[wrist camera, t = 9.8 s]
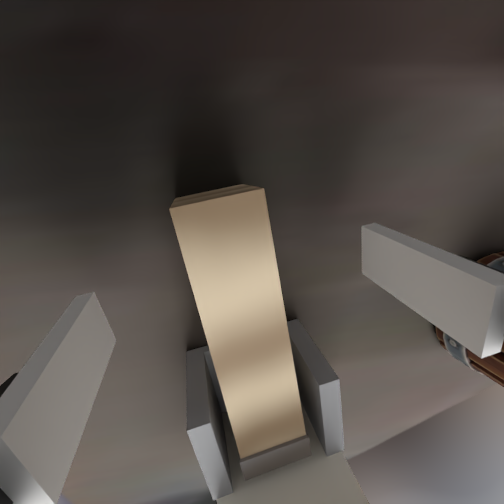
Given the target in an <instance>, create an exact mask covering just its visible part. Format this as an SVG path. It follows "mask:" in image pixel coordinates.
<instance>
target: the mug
mask: <svg viewBox="0 0 504 504" xmlns="http://www.w3.org/2000/svg"><path fill="white" fill-rule="evenodd" d="M477 262H478V263H482V264H485V265H487V266H489V268H491V267H492V268H495V269H497V270H500V271H503V272H504V251H503V252H500V253H494V254H491V255H489V256H486V257H483V258H481V259H479V260H477ZM436 334H437V338H438V339H439V341H440V344H441V345H442V346H443V348H444V349H446V350H447V351H448V352H449V353H450V354H451V355H452V356H453V357H454V358H456V359H457V360H459V361H460V362H462V363H463V364H465V365H466V366H468V367H469V368H471V369H472V370H474V371H476V372H478V373H480V374H484V375H486V376H487V377H489V378H490V379H492V380H493V381H495V382H497V383H498V384H500V385H501V386H503V387H504V340H503V344H502V349H501V352H499V353H496V354H493V355H490V356H487V357H484V358H482V359H481V358H480V357H478V356H477V355H476V354H474V353H473V352H471V351H470V350H469V349H467V348H466V347H464V346H463V345H462V344H460V343H459V342H457V341H456V340H454V339H453V338H452V337H450V336H449V335H447V334H446V333H445V332H443V331H442V330H440V329H439V328H438V327H436Z"/></svg>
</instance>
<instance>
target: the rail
mask: <svg viewBox="0 0 504 504" xmlns="http://www.w3.org/2000/svg"><path fill="white" fill-rule="evenodd" d="M169 210H170V213H171V217H172V220H173V224H174V227H175V231H176V234H177V238H178V241H179V245H180V248H181V252H182V255H183V259H184V262H185V266H186V269H187V273H188V276H189V280H190V283H191V287H192V290H193V294H194V297H195V301H196V304H197V308H198V311H199V315H200V318H201V322H202V325H203V329H204V332H205V336H206V339H207V343H208V346H209V350H210V353H211V357H212V360H213V363H214V367H215V370H216V374H217V377H218V381H219V384H220V388H221V391H222V395H223V398H224V402H225V405H226V409H227V412H228V416H229V419H230V423H231V426H232V430H233V433H234V437H235V440H236V445H237V450H238V456H239V462H240V466H241V469H242V473H243V476H244V480H245V481H246V480H249V479H251V478H254V477H256V476H259V475H262V474H264V473H267V472H269V471H272V470H275V469H277V468H280V467H283V466H285V465H288V464H290V463H293V462H296V461H298V460H301V459H303V458H306V457H309V456H311V455H312V452H311V446H310V440H309V436H308V434H307V432H306V429H305V425H304V420H303V414H302V408H301V402H300V396H299V390H298V385H297V379H296V373H295V367H294V361H293V355H292V349H291V344H290V338H289V332H288V326H287V320H286V314H285V308H284V303H283V297H282V291H281V285H280V279H279V273H278V268H277V262H276V256H275V250H274V244H273V238H272V232H271V227H270V221H269V215H268V209H267V203H266V197H265V191H264V188H260V187H255V186H250V185H245V184H240V185H235V186H230V187H226V188H221V189H216V190H211V191H207V192H202V193H197V194H193V195H188V196H183V197H178V198H175V200H174V201H173V203H172V205H171V207H170V208H169Z"/></svg>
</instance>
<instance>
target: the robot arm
mask: <svg viewBox="0 0 504 504" xmlns="http://www.w3.org/2000/svg"><path fill="white" fill-rule="evenodd" d="M362 274H363V275H365V276H366V277H368V278H369V279H370V280H372V281H373V282H375V283H376V284H377V285H379V286H380V287H382V288H383V289H384V290H386V291H387V292H389V293H390V294H391V295H393V296H394V297H396V298H397V299H398V300H400V301H401V302H403V303H404V304H405V305H407V306H408V307H410V308H411V309H412V310H414V311H415V312H417V313H418V314H419V315H421V316H422V317H424V318H425V319H426V320H428V321H429V322H431V323H432V324H433V325H435V326H436V327H438V328H439V329H440V330H442V331H443V332H445V333H446V334H447V335H449V336H450V337H452V338H453V339H454V340H456V341H457V342H459V343H460V344H462V345H463V346H464V347H466V348H467V349H469V350H470V351H471V352H473V353H474V354H476V355H477V356H478V357H480V358H481V359H482V358H484V357H487V356H490V355H493V354H496V353H499V352H501V349H502V344H503V340H504V272H503V271H500V270H497V269H495V268H492V267H491V268H489V266H487V265H485V264H482V263H478V262H477V261H474V260H472V259H469V258H467V257H464V256H459V255H455V254H452V253H450V252H447V251H445V250H442V249H440V248H437V247H435V246H432V245H430V244H427V243H425V242H422V241H420V240H417V239H414V238H412V237H409V236H407V235H404V234H402V233H399V232H397V231H394V230H392V229H389V228H387V227H384V226H382V225H379V224H377V223H372V224H368V225H364V226H362ZM115 343H116V338H115V336H114V334H113V332H112V330H111V327H110V325H109V323H108V321H107V319H106V317H105V314H104V312H103V310H102V308H101V306H100V303H99V301H98V299H97V297H96V295H95V293H94V292H91V293H87V294H83V295H79V296H76V297H75V298H74V299H73V301H72V302H71V303H70V305H69V306H68V307H67V309H66V310H65V311H64V313H63V314H62V315H61V317H60V318H59V319H58V321H57V322H56V323H55V325H54V326H53V328H52V329H51V330H50V332H49V333H48V334H47V336H46V337H45V338H44V340H43V341H42V342H41V344H40V345H39V346H38V348H37V349H36V350H35V352H34V353H33V354H32V356H31V357H30V358H29V360H28V361H27V362H26V364H25V365H24V366H23V368H22V369H21V370H20V372H19V373H15V374H13V375H12V376H11V377H10V378H9V379H8V380H6V381H5V382H4V383H3V384H2V385H1V386H0V504H57V502H58V500H59V497H60V494H61V491H62V489H63V486H64V483H65V480H66V478H67V475H68V472H69V469H70V467H71V464H72V461H73V458H74V456H75V453H76V450H77V447H78V445H79V442H80V439H81V436H82V434H83V431H84V428H85V425H86V423H87V420H88V417H89V414H90V412H91V409H92V406H93V403H94V401H95V398H96V395H97V392H98V390H99V387H100V384H101V381H102V379H103V376H104V373H105V370H106V368H107V365H108V362H109V359H110V357H111V354H112V351H113V348H114V346H115Z"/></svg>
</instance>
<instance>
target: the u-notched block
mask: <svg viewBox="0 0 504 504" xmlns="http://www.w3.org/2000/svg"><path fill="white" fill-rule="evenodd" d="M287 326H288V332H289V338H290V344H291V349H292V355H293V361H294V367H295V373H296V379H297V385H298V390H299V396H300V402H301V408H302V414H303V420H304V425H305V429H306V432H307V434H308V436H309V440H310V446H311V452H312V455H311V456H309V457H306V458H303V459H301V460H298V461H296V462H293V463H290V464H288V465H285V466H283V467H280V468H277V469H275V470H272V471H269V472H267V473H264V474H262V475H259V476H256V477H254V478H251V479H249V480H246V481H245V480H244V476H243V473H242V469H241V466H240V462H239V456H238V450H237V445H236V440H235V437H234V433H233V430H232V426H231V423H230V419H229V416H228V412H227V409H226V405H225V402H224V398H223V395H222V391H221V388H220V384H219V381H218V377H217V374H216V370H215V367H214V363H213V360H212V357H211V353H210V350H209V346H208V345H207V346H204V347H200V348H197V349H194V350H190V351H187V352H186V380H187V433H188V435H189V438H190V441H191V443H192V446H193V448H194V451H195V454H196V456H197V459H198V462H199V464H200V467H201V469H202V472H203V475H204V477H205V480H206V482H207V485H208V488H209V490H210V493H211V496H212V498H213V500H216V499H217V504H369V502H368V500H367V498H366V497H365V495H364V493H363V491H362V489H361V487H360V485H359V483H358V481H357V480H356V478H355V476H354V474H353V472H352V470H351V468H350V466H349V464H348V463H347V461H346V459H345V457H344V455H343V453H342V451H343V450H344V438H343V424H342V409H341V395H340V381H339V378H338V376H337V375H336V373H335V372H334V371H333V369H332V368H331V366H330V365H329V363H328V362H327V360H326V359H325V357H324V356H323V355H322V353H321V352H320V350H319V349H318V347H317V346H316V344H315V343H314V342H313V340H312V339H311V337H310V336H309V334H308V333H307V331H306V330H305V329H304V327H303V326H302V324H301V323H300V321H299V320H298V319H295V320H292V321H288V322H287Z"/></svg>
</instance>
